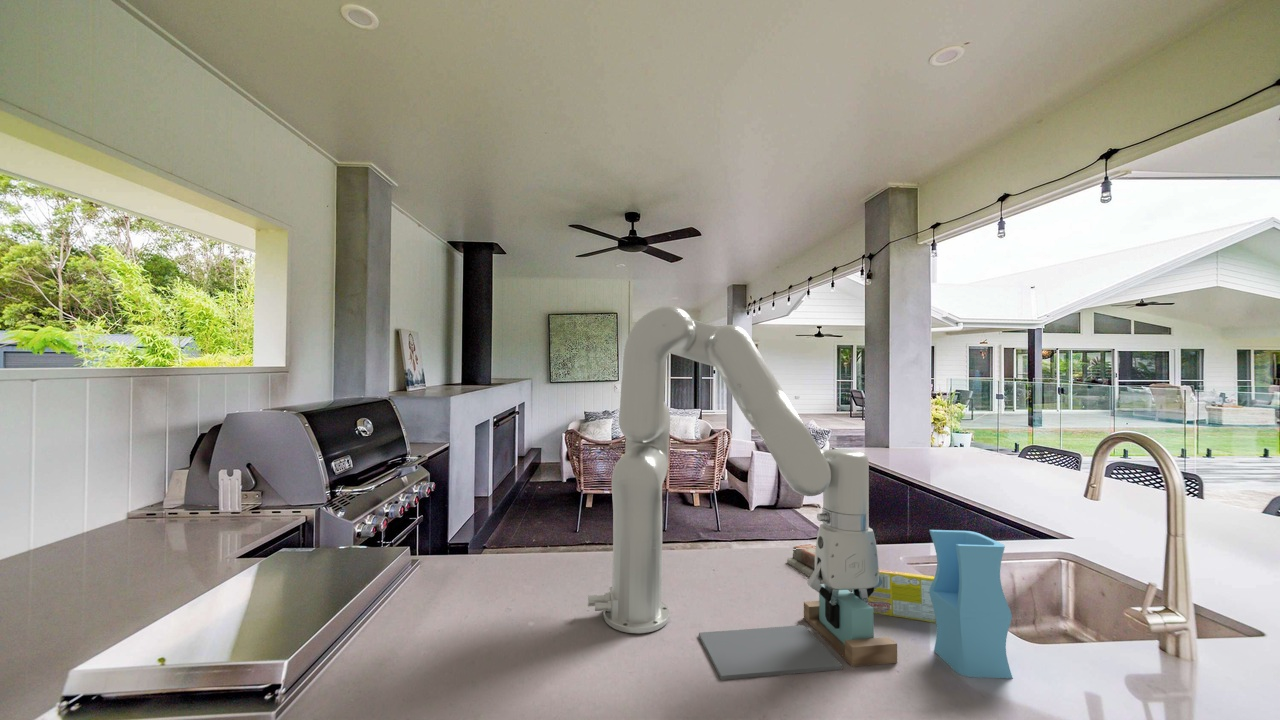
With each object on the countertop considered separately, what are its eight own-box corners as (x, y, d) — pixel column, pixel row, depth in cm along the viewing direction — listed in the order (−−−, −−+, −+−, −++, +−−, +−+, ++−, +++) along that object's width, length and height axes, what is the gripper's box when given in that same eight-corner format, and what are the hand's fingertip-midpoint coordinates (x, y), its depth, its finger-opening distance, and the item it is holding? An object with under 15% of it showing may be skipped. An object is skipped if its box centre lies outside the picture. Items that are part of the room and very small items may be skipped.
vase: (930, 647, 79) (928, 529, 80) (976, 648, 78) (974, 530, 79) (961, 676, 71) (958, 545, 72) (1012, 678, 70) (1010, 547, 71)
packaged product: (785, 544, 115) (817, 540, 118) (785, 564, 115) (817, 559, 118) (838, 573, 98) (873, 567, 102) (838, 596, 98) (874, 590, 101)
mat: (721, 680, 69) (721, 675, 69) (698, 636, 81) (698, 632, 81) (842, 669, 72) (842, 665, 72) (803, 628, 84) (803, 625, 84)
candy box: (949, 621, 88) (948, 577, 88) (952, 626, 86) (952, 581, 86) (856, 606, 93) (856, 565, 93) (858, 611, 91) (857, 569, 91)
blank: (852, 652, 76) (851, 609, 76) (819, 622, 85) (819, 584, 86) (873, 651, 76) (873, 608, 77) (838, 621, 86) (838, 583, 87)
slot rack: (852, 666, 73) (852, 647, 73) (803, 617, 88) (803, 601, 88) (897, 662, 74) (897, 643, 74) (841, 615, 89) (841, 599, 89)
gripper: (813, 527, 77) (812, 638, 76) (902, 525, 79) (902, 632, 79) (791, 514, 84) (790, 615, 83) (873, 512, 87) (873, 610, 86)
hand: (844, 622), depth 81 cm, fingers closed on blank, 4 cm apart
